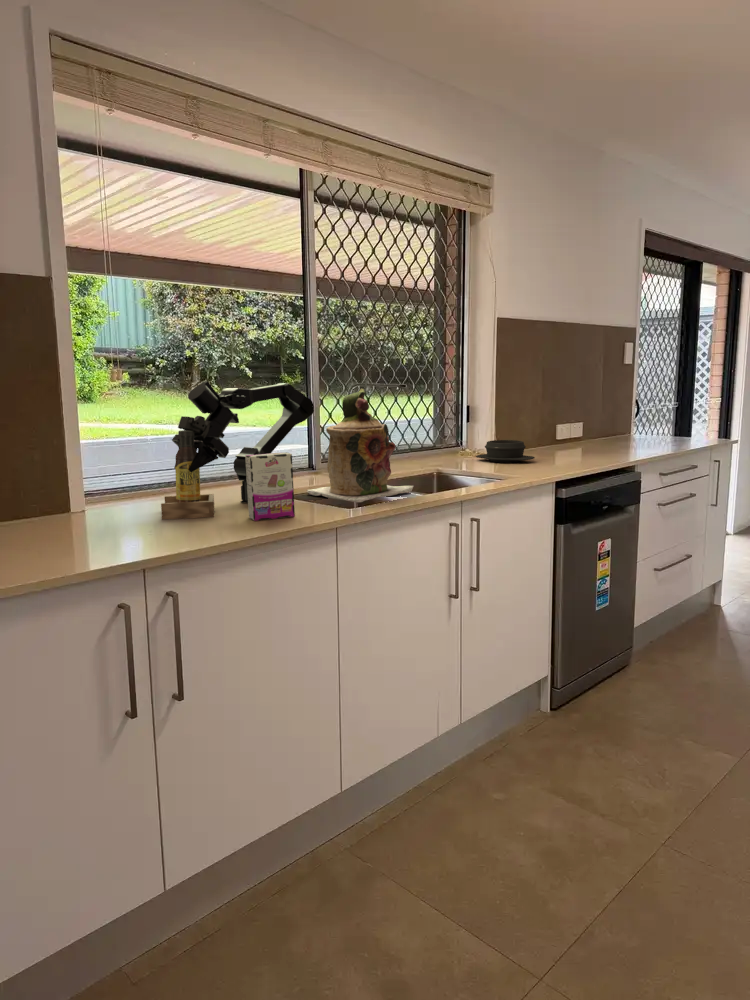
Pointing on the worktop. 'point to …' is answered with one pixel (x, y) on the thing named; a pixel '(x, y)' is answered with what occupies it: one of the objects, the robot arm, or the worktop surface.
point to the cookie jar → (359, 455)
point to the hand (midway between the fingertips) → (182, 470)
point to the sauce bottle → (186, 469)
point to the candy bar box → (270, 486)
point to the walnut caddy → (188, 507)
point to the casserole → (505, 451)
